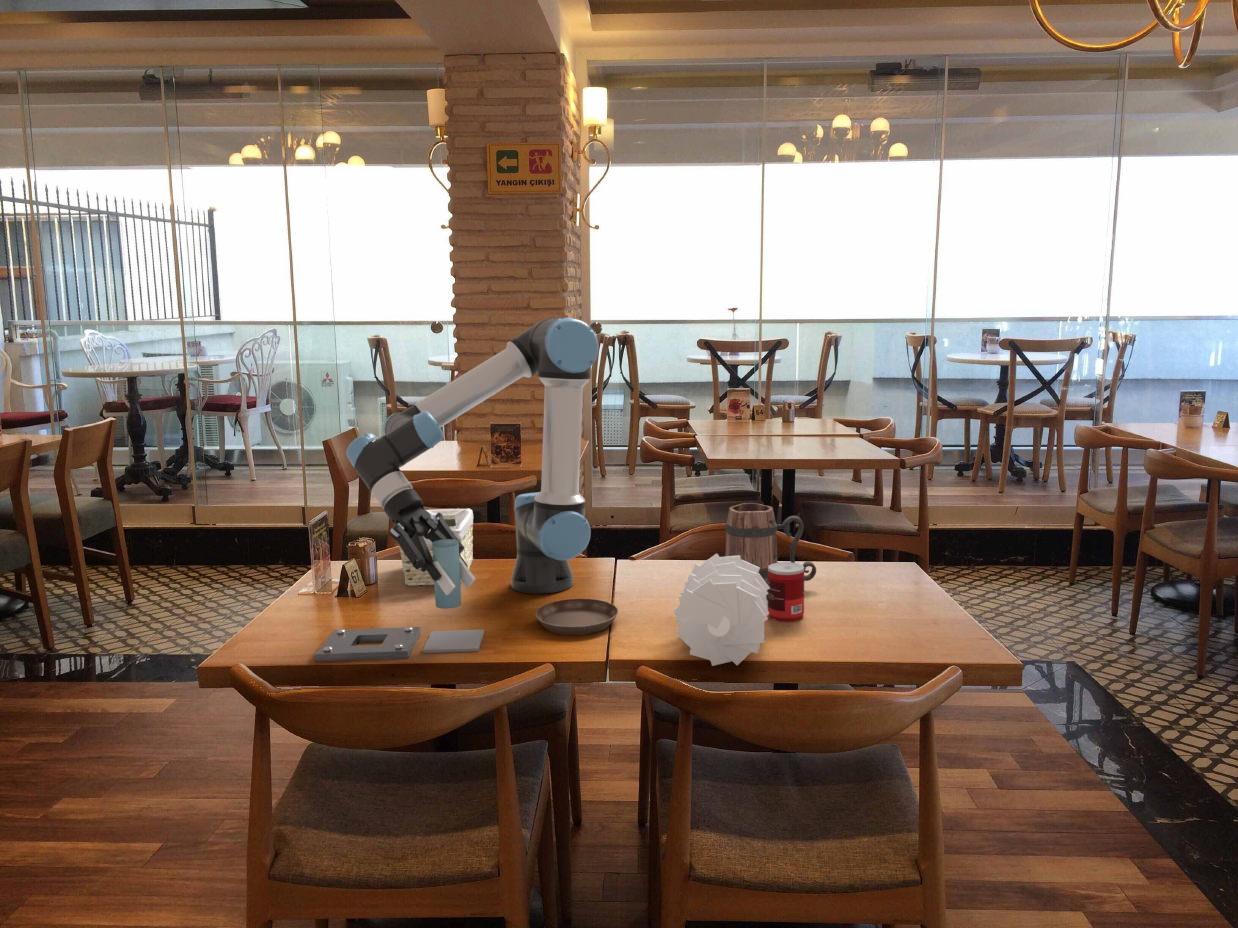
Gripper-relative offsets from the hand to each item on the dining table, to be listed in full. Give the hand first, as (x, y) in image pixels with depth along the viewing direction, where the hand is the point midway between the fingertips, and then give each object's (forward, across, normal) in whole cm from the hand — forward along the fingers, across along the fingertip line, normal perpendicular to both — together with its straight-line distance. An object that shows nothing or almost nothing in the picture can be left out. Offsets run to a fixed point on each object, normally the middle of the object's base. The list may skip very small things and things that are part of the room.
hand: (461, 586), depth 188 cm
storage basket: (-21, -36, -39) cm, 57 cm away
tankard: (+35, -63, +18) cm, 74 cm away
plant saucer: (+18, -22, 0) cm, 28 cm away
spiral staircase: (+41, -24, +24) cm, 54 cm away
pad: (+6, -1, -11) cm, 13 cm away
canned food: (+43, -48, +26) cm, 70 cm away
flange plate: (-3, +10, -21) cm, 23 cm away
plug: (0, 0, -6) cm, 6 cm away
